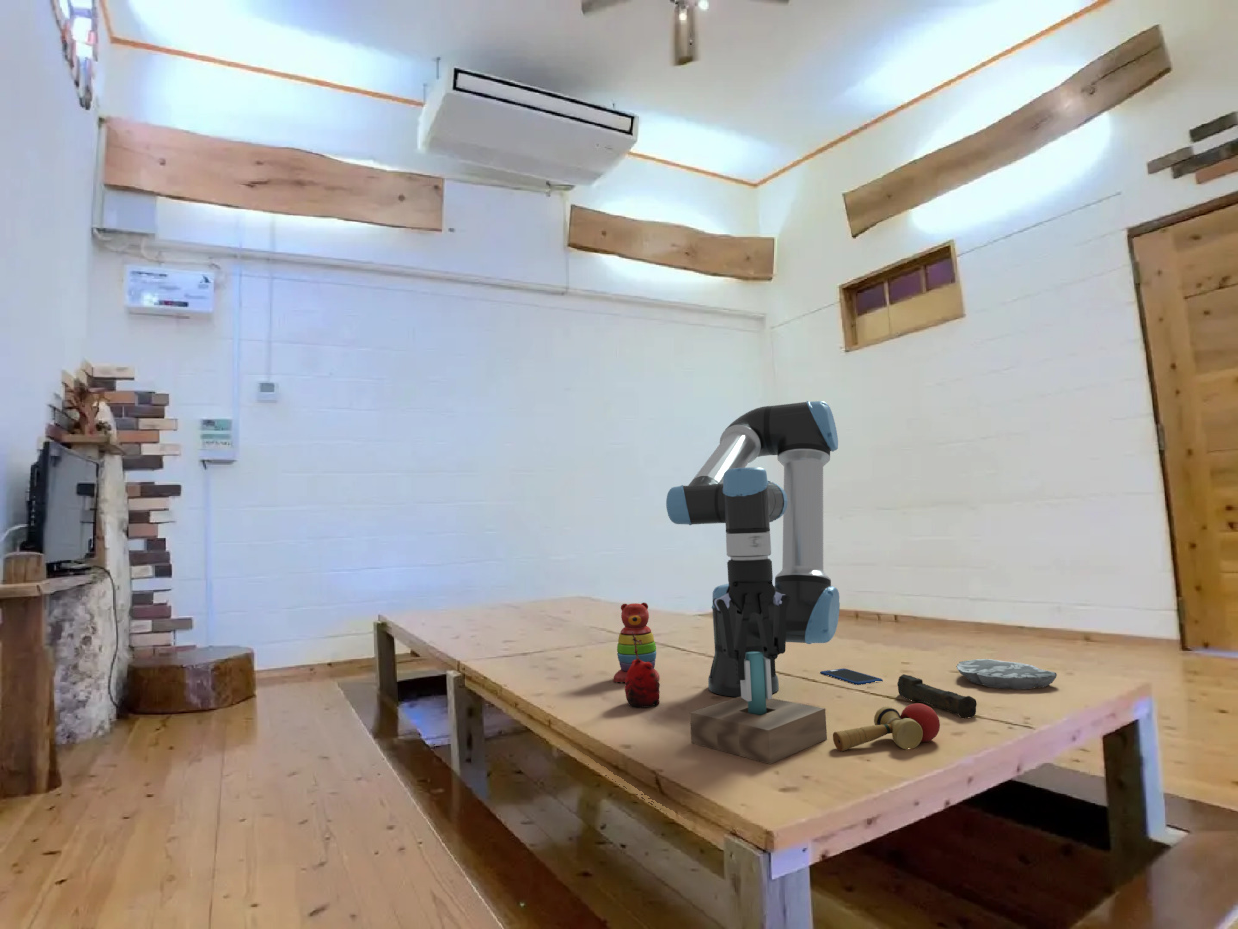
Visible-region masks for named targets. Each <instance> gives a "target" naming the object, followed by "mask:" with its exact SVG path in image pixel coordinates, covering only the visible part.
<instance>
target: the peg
mask: <svg viewBox="0 0 1238 929" xmlns="http://www.w3.org/2000/svg"><path fill="white" fill-rule="evenodd" d="M745 657H746V660H748V661H750V677H751V696H752V701H748V713H750V714H755V715H760V716H761V715H763V714H766V713H767V711H766V693H765V675H764V657H763V653H762V652H747V653H745Z"/></svg>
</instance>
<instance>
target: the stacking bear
mask: <svg viewBox="0 0 1238 929" xmlns="http://www.w3.org/2000/svg"><path fill="white" fill-rule="evenodd" d="M648 608H649V605H648V603H647V602H642V603H637V602H636V603H635V602H634V603H633V602H632V603H622V604H621V605H620V611H621V616H620V618H621V622H622V624H623V626H624V627H623V628H621V630H620V633H619V635H618V639H617V642H618V643H617V647H616V648H617V649H616V651H617V654H616V655H617V659H618V662H619V667H620V669H619V670H618V671H616V673H615V674H614V675H613V678H612V681H613V683H615V682H625V678H626V676H627V671H628V669H629V668H630V666H631V665H632V661H633V660H636V653H635V652H634V649H635V645H634V640H632V639H633V638H634V637H633V636H632V633H633V635H634V636H635V637H636V639H637V640H642V645H641V644H639V643H638V642H636V646H637V649H638V651H637V654H638V657H639V659H640V660H641V661H643V662H650V663H651V664H652V665H653V669H654V671H655V672H656V674H657V678H658V682H660V680H661V678H660V674H659V672H658V671H657V670H656V668H655V666H656V659H657V645H656V641H655V638H654V634H653V632H652V629H651V628H650V627H649V626H647V625H648V622H649V618H650V614H649V609H648Z"/></svg>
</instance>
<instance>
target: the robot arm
mask: <svg viewBox="0 0 1238 929" xmlns="http://www.w3.org/2000/svg"><path fill="white" fill-rule="evenodd" d="M837 432H838V430H837V427H836V423H835V419H834V414H833V412H832V409H831V407H830V405H829V404H828V403H827V402H826V401H822V400H818V401H817V400H814V401H809V400H806V401H805V402H804V401H803V402H793V403H786V404H785V403H784V404H778V405H767V406H766V405H765V406H760V407H757V408H753V409H751V410H750V411H748V412H746V413H744V414H742V415H740V416H739V417H738V418H736V419H735V420H734V421H732V422H731V423H730V424H729V425H728V426H727V427H726V428H725V429H724V430H723V432H722V433H721V435H720V439H719V445H718V446H717V447H716V448H715V450H714V451H713V453H712V454H711V455H710V457H708V459H707V460H706V461H705V463H704V464H703V466H702V467H701V468H700V469H699V471H698V472H697V474H696V475H695V476H694V477H693V479H692V480H691V482H690V483H689V484H688V485H683V484H682V485H679V486H673V487H671V488H670V489H669V490H668V492H667V495H666V501H665V502H666V503H665V505H666V512H667V516H668V518H669V520H670V521H671V523H673V524H675V525H689V526H693V525H709V524H710V525H711V524H725V542H726V543H725V544H726V556H727V557H729V558H730V559H728V561H727V562H726V565H727V567H726V568H727V581H728V583H724V584H720V585H718V586H716V587H715V588H714V589H713V592H712V605H711V609H712V623H713V624H712V625H713V640H714V641H713V642H714V655H713V660H712V663H711V667H710V671H709V675H708V680H707V682H708V683H707V684H708V690H709V692H711V693H714V694H716V695H719V696H720V695H721V696H725V697H734V698H737V697H740V696H741V698H743V699H744V700H746V701H752V696H751V677H750V661H748V660H746V657H745V653H747V652H762V653H763V657H764V675H765V693H766V698H767V699H772V698H773V694H774V693H777V692H778V691H779V688H780V687H779V678H778V675H777V673H776V660H777V659H778V656H779V655H781V654H782V655H783V654H784V653H785V652H786V648H787V647H786V643H800V644H807V645H811V644H827V643H829V642H830V641H832V639H833V637H834V636H835V634H836V631H837V628H838V623H839V618H840V609H841V607H840V604H841V603H840V593H839V590H838V588H837V587H835V586H833V585H832V583H831V582H832V580H831V578H830V577H829V575H827V574H826V572H825V570H824V467H825V466H826V465H827V464H828V463H829V462H830V461H831V452H834V453H835V451H837V450H838V449H839V439H838V433H837ZM764 456H765V457H767V456H777V461H778V463H780V464H781V465H782V466H783V487H781V486H780V485H779V484H777V483H775V482H773V481H771V480H768V475H767V470H766V469H765V468H764V467H758V466H757V467H755V466H754V467H752V466H751V467H747V465H748V464H749V463H752V462H754V461H755V460H756V459H757V458H759V457H764ZM781 517H782V565H781V566H782V568H781V570H780V572H778V573H777V574H776V575H775V578H774V576H773V561H772V560H771V559H770V558H769V556H771V554H772V543H771V528H770V523H772V522H774V521H777V520H778V519H780V518H781ZM773 579H774V580H773ZM773 581H774V582H773ZM773 583H774V584H773Z"/></svg>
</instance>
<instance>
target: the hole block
mask: <svg viewBox="0 0 1238 929" xmlns="http://www.w3.org/2000/svg"><path fill="white" fill-rule="evenodd" d="M766 711H767V713H766V714H763V715H761V716H760V715H755V714H750V713H748V701H746V700H744V699H743V698H741V696H740V697H734V698H731V699H728V700H724V701H721V702H719V703H715V704H712V705H708V706H706V707H702V708H700V709H696V710H693V711H690V712H689V722H690V724H689V725H690V741H691V744H694V745H698V746H702V747H706V748H709V749H714V750H717V751H722V752H725V753H728V754H732V755H735V756H737V757H738V756H740V757H744V758H747V759H750V760H753V761H756V762H757V761H758V762H761V763H765V764H768V765H772V764H773V763H776V762H778V761H781V760H782V759H785V758H787V757H790V756H792V755H794V754H797V753H799V752H801V751H803V750H805V749H808V748H811V747H812V746H816V744H819V743H822V742H825V741H826V740H828V734H827V733H828V732H827V717H826V716H827V715H826V708H824V707H820V706H815V705H814V706H813V705H809V704H803V703H799V702H793V701H789V700H788V701H787V700H783V699H776V698H773V697H772V699H767V698H766Z"/></svg>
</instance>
